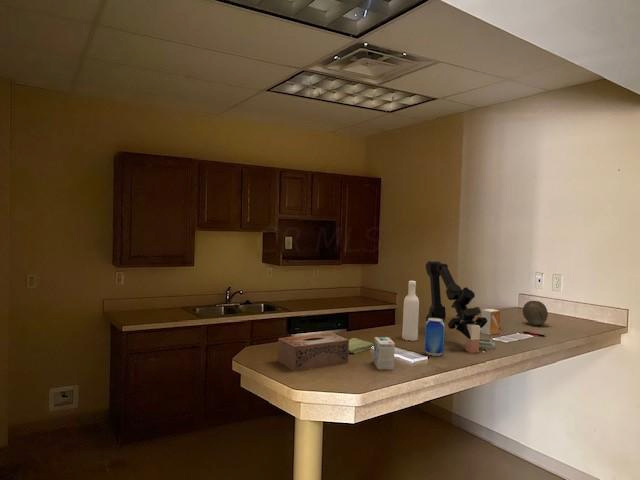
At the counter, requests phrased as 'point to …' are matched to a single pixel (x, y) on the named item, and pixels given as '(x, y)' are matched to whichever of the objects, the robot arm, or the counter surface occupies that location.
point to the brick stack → (473, 338)
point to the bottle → (410, 314)
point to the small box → (491, 321)
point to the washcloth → (358, 345)
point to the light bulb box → (384, 353)
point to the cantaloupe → (535, 312)
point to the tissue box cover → (312, 351)
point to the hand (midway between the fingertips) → (474, 338)
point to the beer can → (434, 337)
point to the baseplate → (486, 343)
